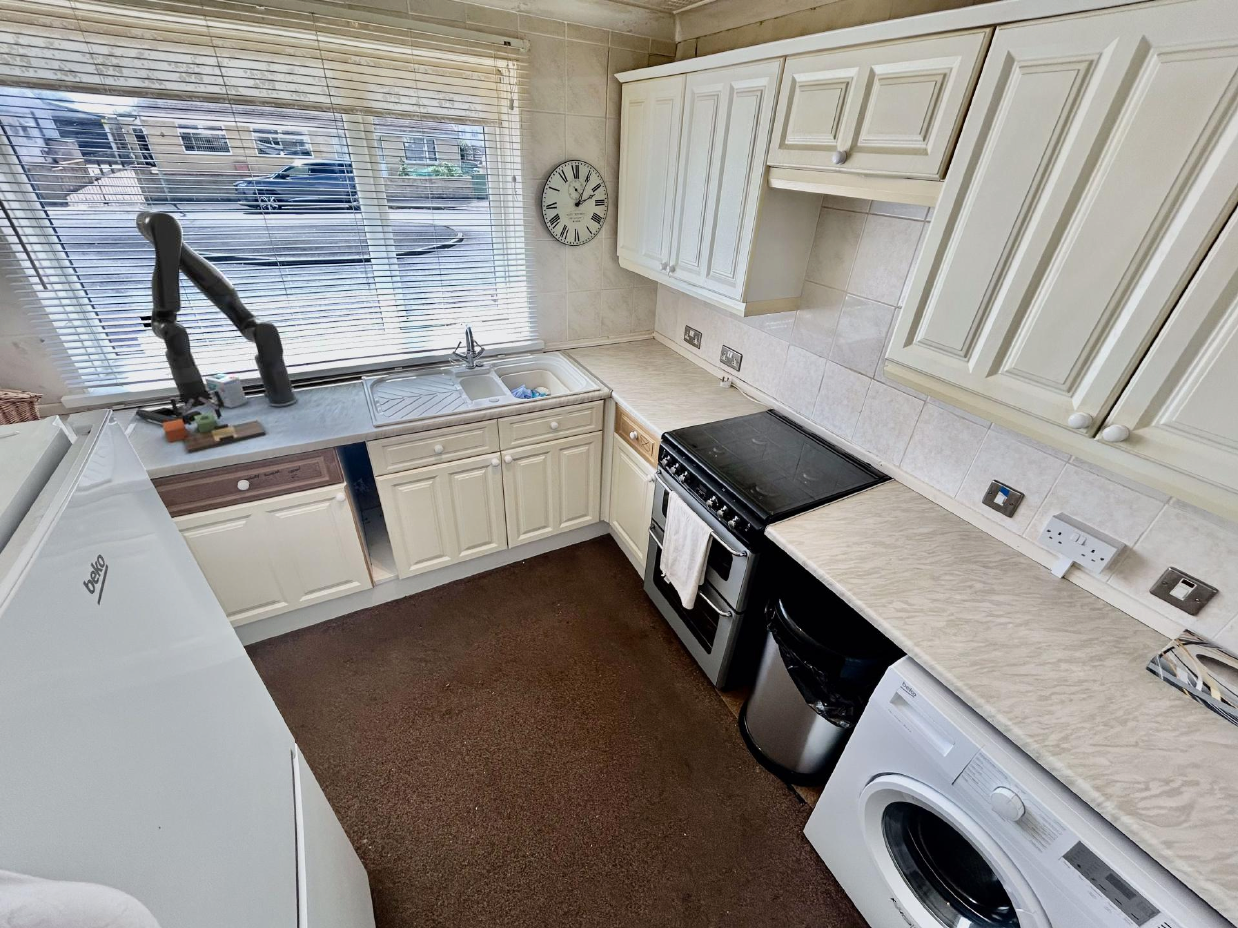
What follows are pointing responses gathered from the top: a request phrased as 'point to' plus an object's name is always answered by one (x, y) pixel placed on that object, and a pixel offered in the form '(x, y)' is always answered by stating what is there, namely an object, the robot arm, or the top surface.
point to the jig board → (223, 435)
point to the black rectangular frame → (164, 415)
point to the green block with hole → (206, 422)
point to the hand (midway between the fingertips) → (204, 421)
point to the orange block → (175, 430)
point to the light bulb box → (227, 389)
